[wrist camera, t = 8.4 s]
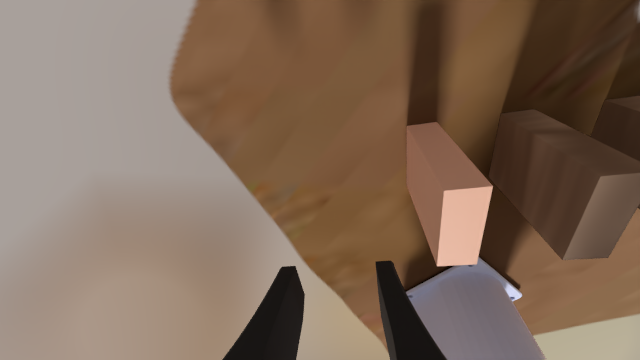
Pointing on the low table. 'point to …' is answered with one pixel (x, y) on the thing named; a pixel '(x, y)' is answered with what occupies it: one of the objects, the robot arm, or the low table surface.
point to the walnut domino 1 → (565, 183)
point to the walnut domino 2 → (620, 126)
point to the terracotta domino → (446, 195)
